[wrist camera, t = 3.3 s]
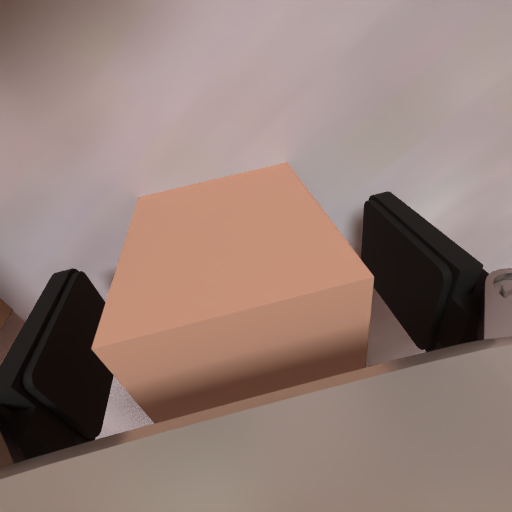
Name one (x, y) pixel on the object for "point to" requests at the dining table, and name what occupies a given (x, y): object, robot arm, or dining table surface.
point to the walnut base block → (4, 312)
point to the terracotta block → (232, 295)
